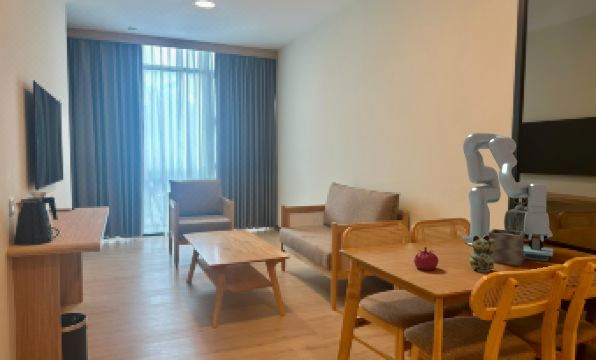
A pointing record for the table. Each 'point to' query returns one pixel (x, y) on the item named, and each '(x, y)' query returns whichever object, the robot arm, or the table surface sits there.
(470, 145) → the robot arm
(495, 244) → the walnut box
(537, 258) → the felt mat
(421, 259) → the pomegranate
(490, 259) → the decorative figurine
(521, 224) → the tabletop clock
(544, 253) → the lid
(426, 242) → the table surface
